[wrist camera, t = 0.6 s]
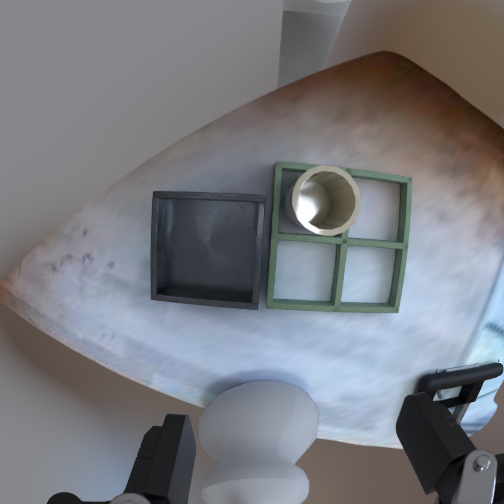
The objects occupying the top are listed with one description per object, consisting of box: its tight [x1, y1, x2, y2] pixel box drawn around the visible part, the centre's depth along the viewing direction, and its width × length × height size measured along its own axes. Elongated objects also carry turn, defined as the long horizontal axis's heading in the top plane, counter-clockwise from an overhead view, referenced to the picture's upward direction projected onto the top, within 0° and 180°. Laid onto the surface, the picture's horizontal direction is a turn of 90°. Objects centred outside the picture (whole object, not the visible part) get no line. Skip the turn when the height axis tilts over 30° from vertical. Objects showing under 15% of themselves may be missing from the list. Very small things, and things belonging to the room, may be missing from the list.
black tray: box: [151, 191, 266, 310], centre depth 37 cm, size 14×14×4 cm
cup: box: [285, 165, 361, 236], centre depth 32 cm, size 7×7×11 cm
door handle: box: [417, 360, 503, 424], centre depth 40 cm, size 3×20×16 cm
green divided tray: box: [266, 161, 412, 313], centre depth 37 cm, size 18×18×2 cm
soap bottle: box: [198, 380, 319, 504], centre depth 27 cm, size 17×12×29 cm
